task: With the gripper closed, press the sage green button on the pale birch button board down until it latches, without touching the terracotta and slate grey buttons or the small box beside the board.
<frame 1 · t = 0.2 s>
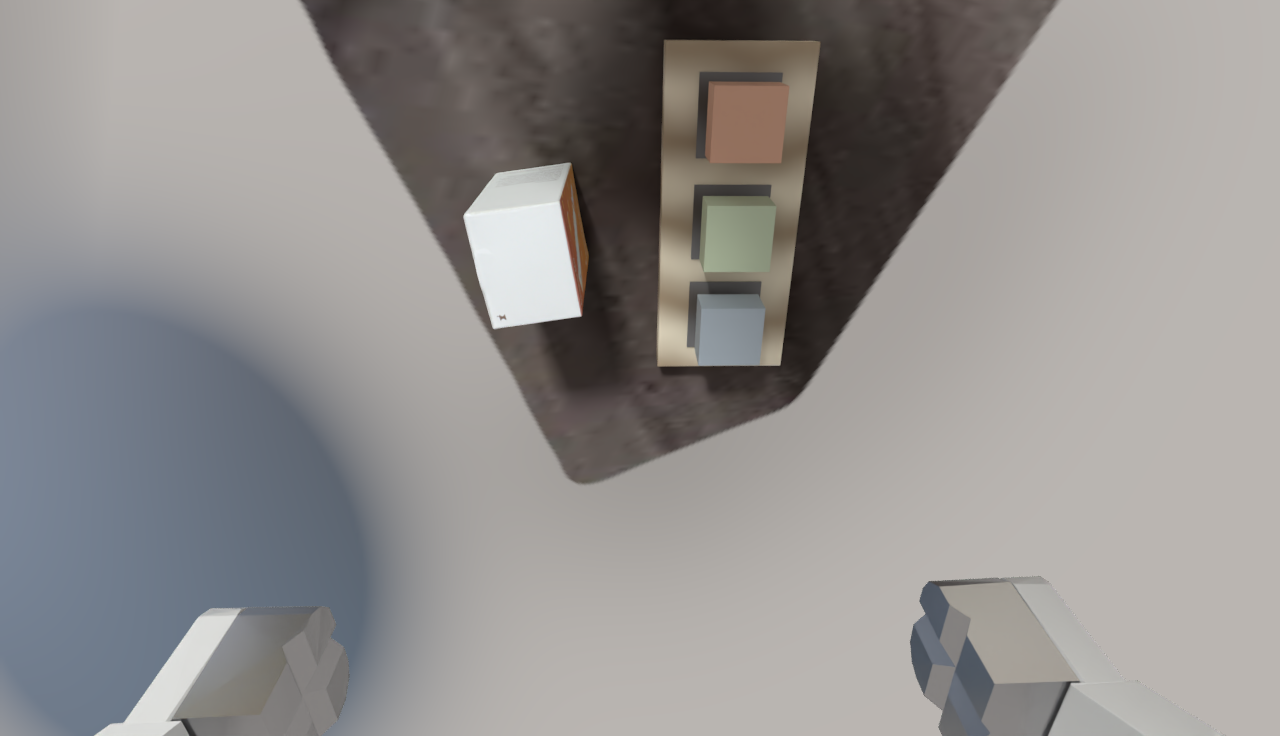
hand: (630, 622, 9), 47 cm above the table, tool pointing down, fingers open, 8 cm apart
small box: (544, 214, 54), on the table
sage button: (736, 233, 50), point 5 cm above the table, slide at 0.0 cm
slate button: (728, 329, 54), point 5 cm above the table, slide at 0.0 cm
terracotta button: (745, 122, 46), point 5 cm above the table, slide at 0.0 cm
button board: (726, 215, 54), on the table
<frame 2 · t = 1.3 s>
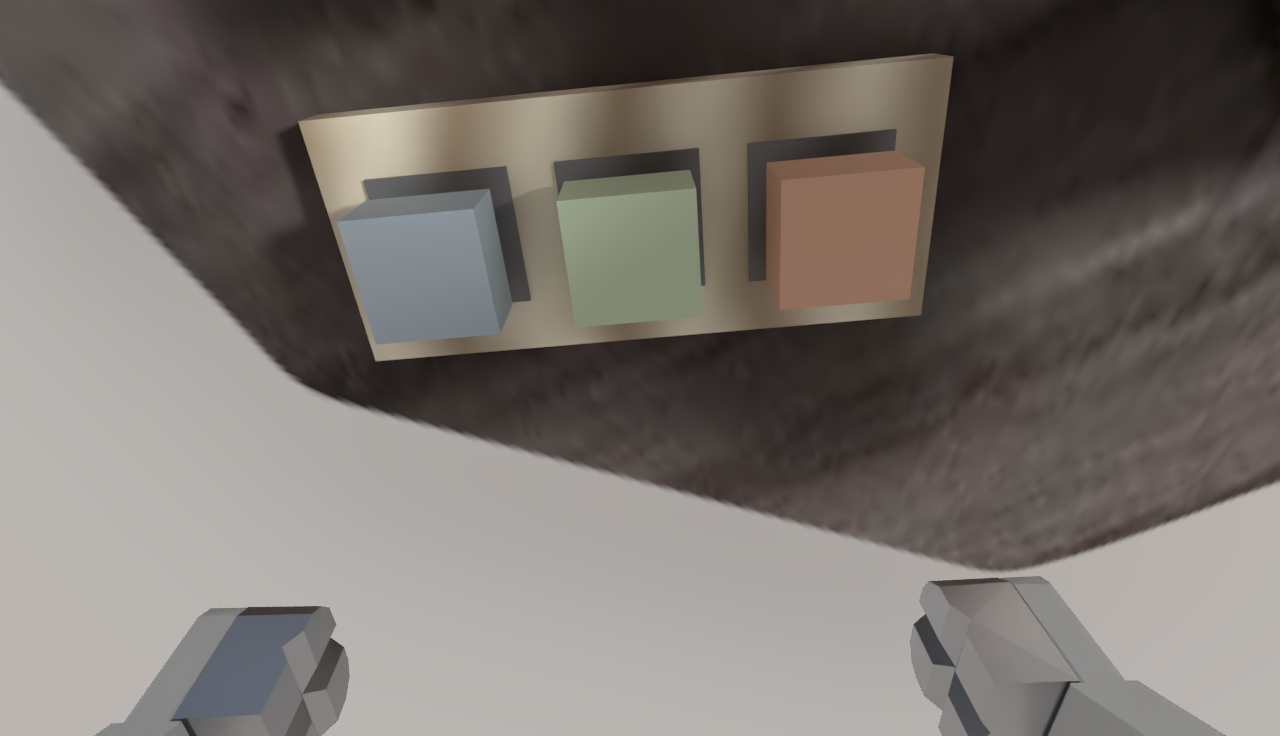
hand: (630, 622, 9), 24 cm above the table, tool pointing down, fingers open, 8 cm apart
sage button: (632, 248, 26), point 5 cm above the table, slide at 0.0 cm
slate button: (432, 266, 26), point 5 cm above the table, slide at 0.0 cm
terracotta button: (837, 230, 26), point 5 cm above the table, slide at 0.0 cm
button board: (633, 212, 30), on the table
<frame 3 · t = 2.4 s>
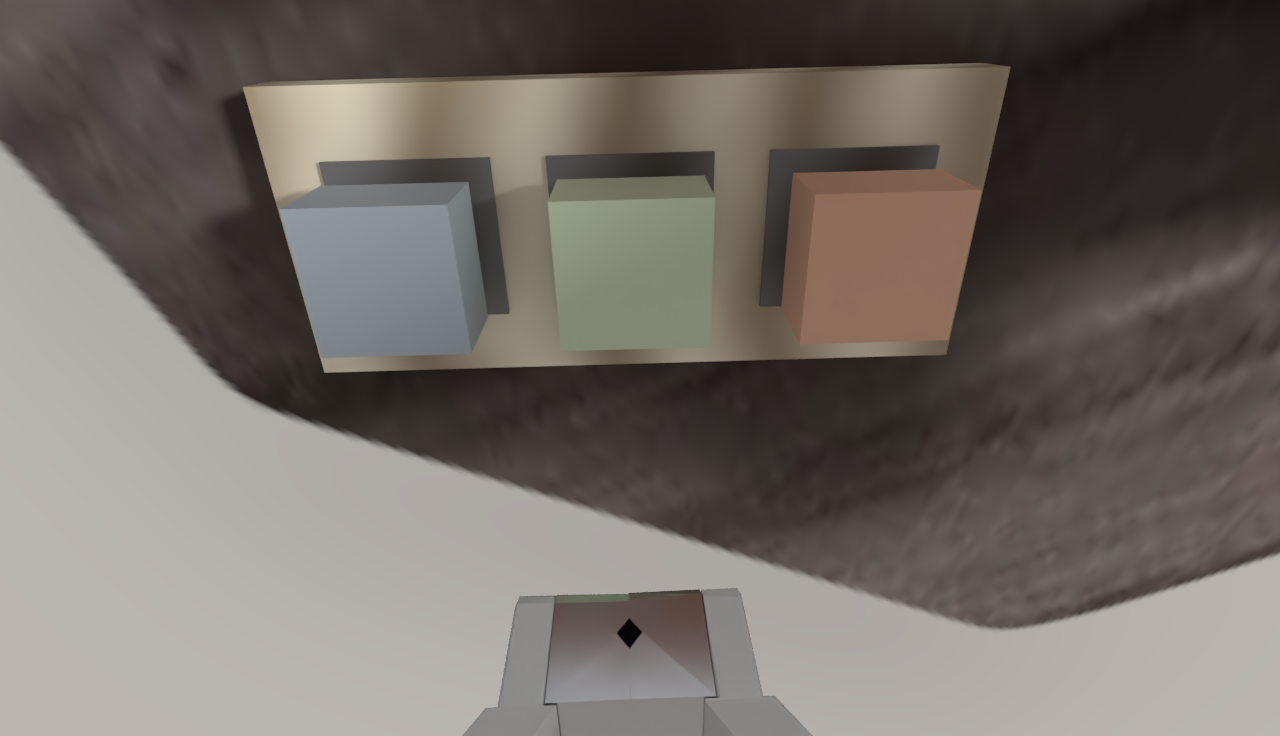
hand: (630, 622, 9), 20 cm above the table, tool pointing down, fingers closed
sage button: (633, 262, 22), point 5 cm above the table, slide at 0.0 cm
slate button: (395, 269, 22), point 5 cm above the table, slide at 0.0 cm
terracotta button: (870, 256, 22), point 5 cm above the table, slide at 0.0 cm
button board: (632, 220, 27), on the table
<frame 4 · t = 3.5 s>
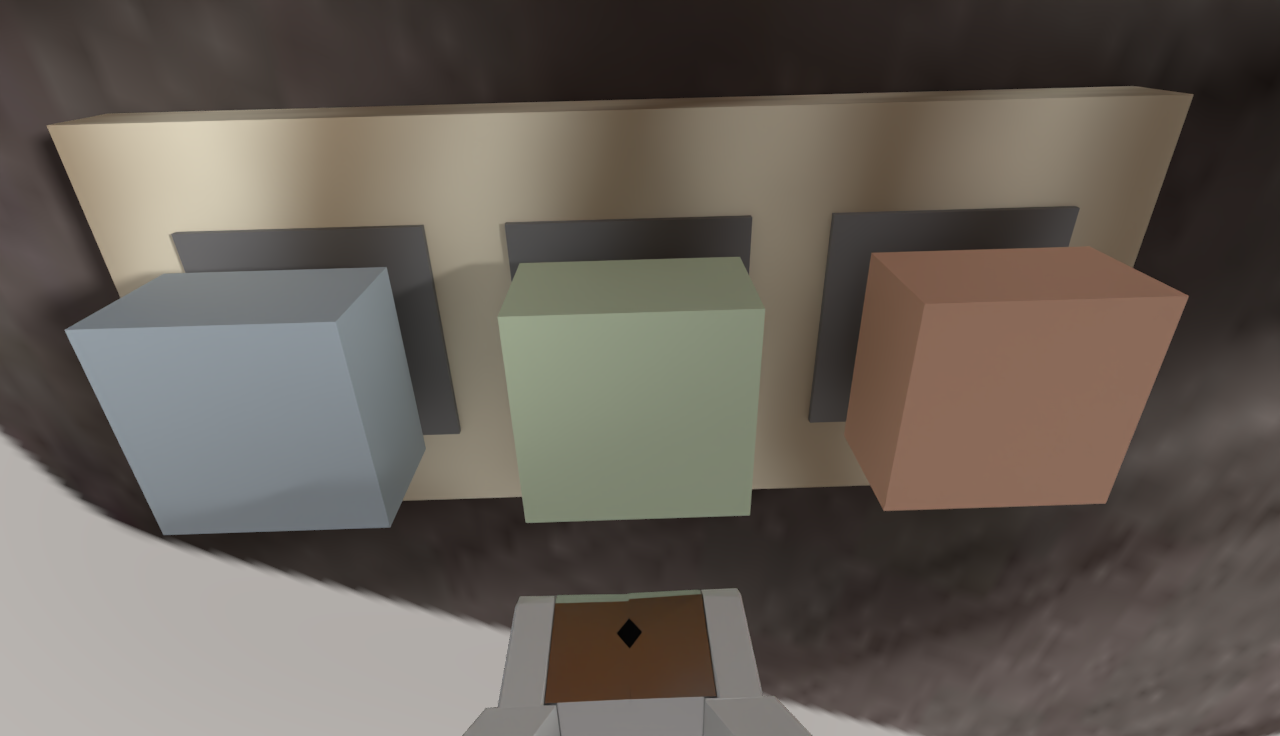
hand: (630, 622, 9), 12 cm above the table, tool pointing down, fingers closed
sage button: (633, 388, 15), point 5 cm above the table, slide at 0.0 cm
slate button: (276, 399, 15), point 5 cm above the table, slide at 0.0 cm
terracotta button: (987, 377, 15), point 5 cm above the table, slide at 0.0 cm
button board: (631, 301, 19), on the table
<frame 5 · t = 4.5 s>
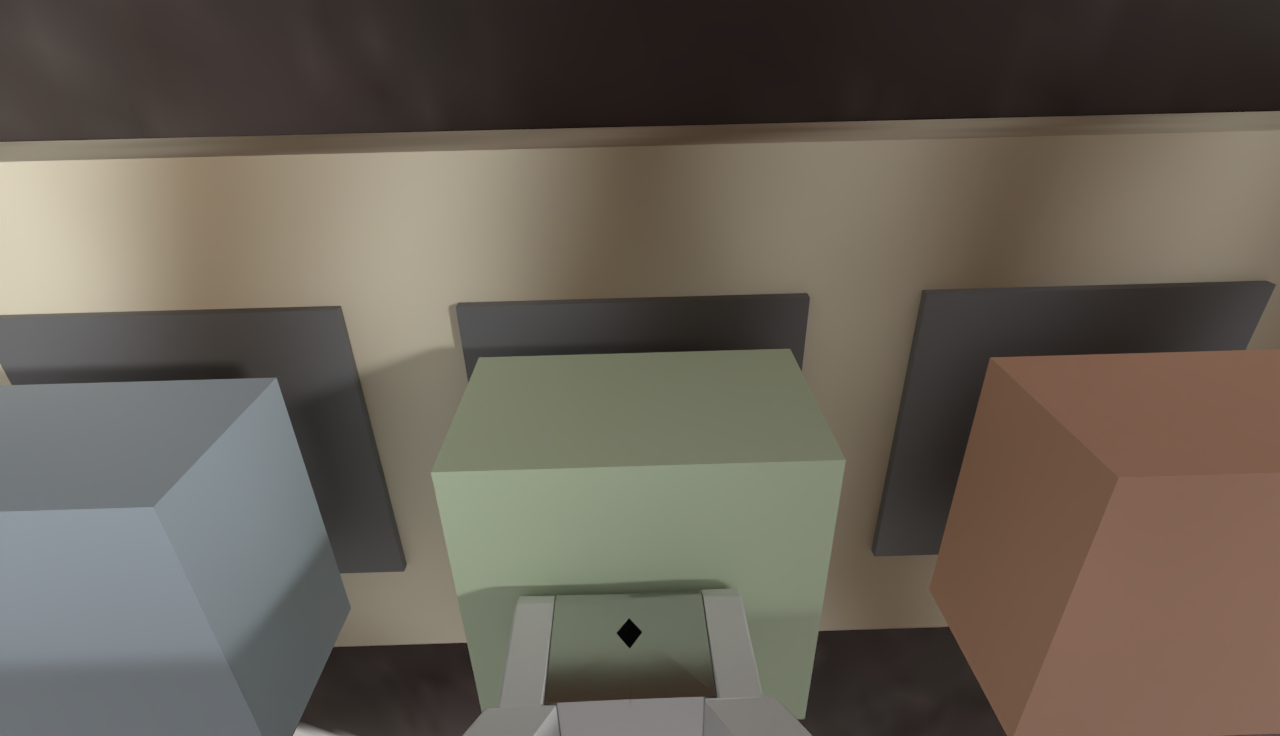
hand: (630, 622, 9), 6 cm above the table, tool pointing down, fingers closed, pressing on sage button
sage button: (640, 536, 10), point 5 cm above the table, slide at 0.5 cm, touching gripper
slate button: (110, 575, 10), point 5 cm above the table, slide at 0.0 cm
terracotta button: (1162, 542, 10), point 5 cm above the table, slide at 0.0 cm
button board: (635, 389, 14), on the table
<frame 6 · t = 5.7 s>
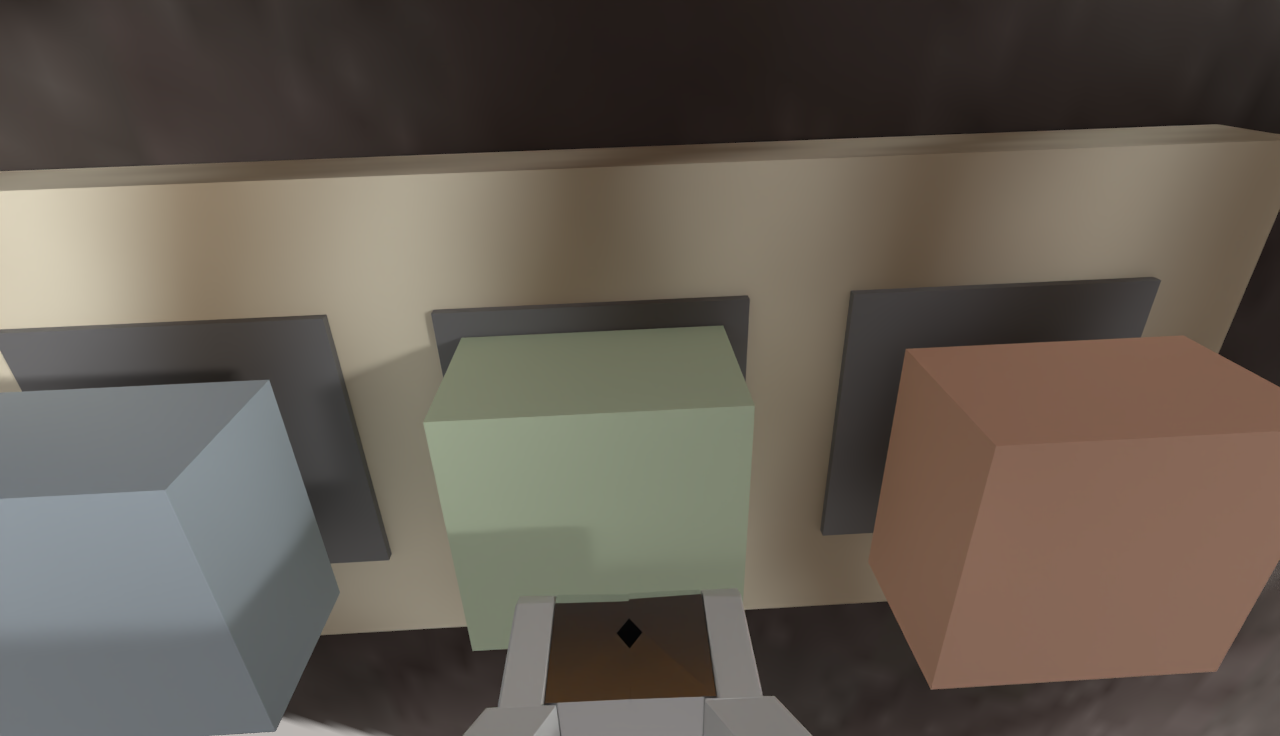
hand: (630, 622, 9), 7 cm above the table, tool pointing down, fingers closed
sage button: (600, 485, 12), point 4 cm above the table, slide at 1.4 cm
slate button: (120, 561, 11), point 5 cm above the table, slide at 0.0 cm
terracotta button: (1059, 508, 11), point 5 cm above the table, slide at 0.0 cm
button board: (601, 387, 16), on the table
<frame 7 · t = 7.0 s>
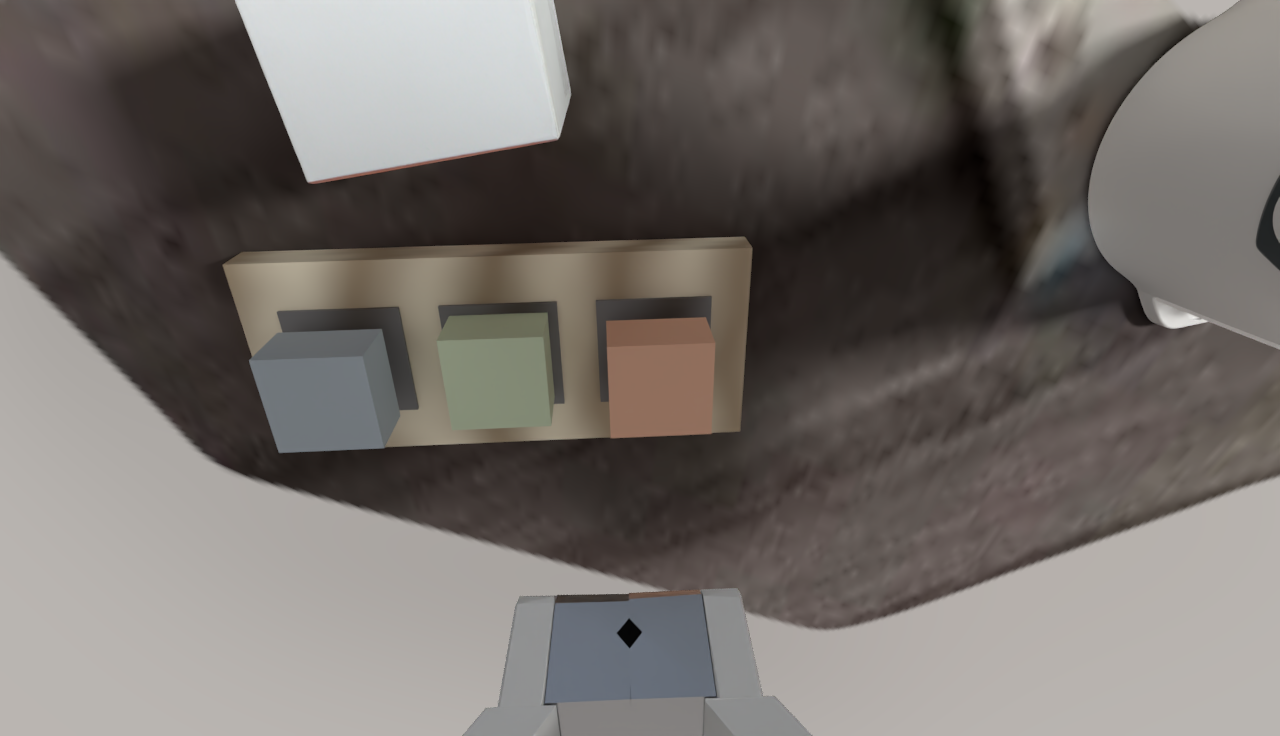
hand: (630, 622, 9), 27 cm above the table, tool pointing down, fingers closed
small box: (474, 40, 30), on the table
sage button: (500, 370, 34), point 4 cm above the table, slide at 1.4 cm
slate button: (330, 390, 32), point 5 cm above the table, slide at 0.0 cm
terracotta button: (658, 377, 33), point 5 cm above the table, slide at 0.0 cm
button board: (508, 339, 37), on the table
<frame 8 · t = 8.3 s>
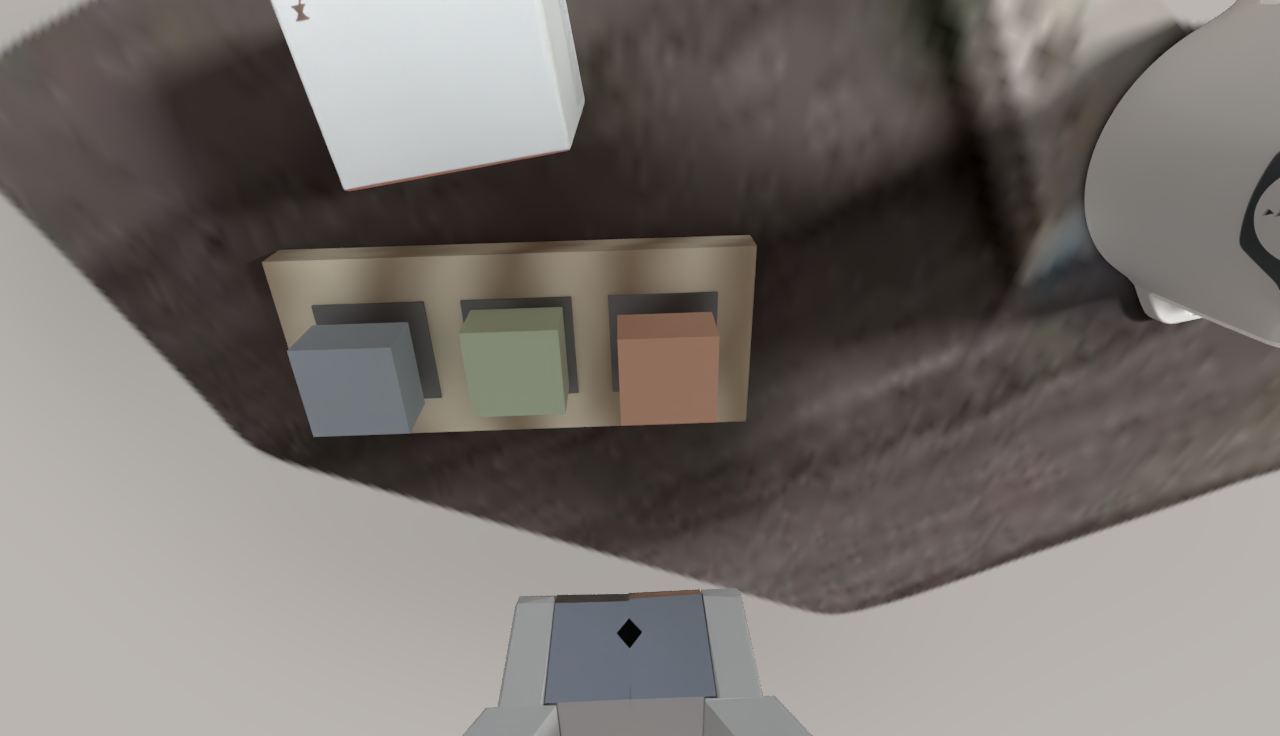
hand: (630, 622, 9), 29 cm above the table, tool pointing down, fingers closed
small box: (494, 51, 32), on the table
sage button: (517, 361, 36), point 4 cm above the table, slide at 1.4 cm
slate button: (360, 379, 34), point 5 cm above the table, slide at 0.0 cm
terracotta button: (666, 368, 35), point 5 cm above the table, slide at 0.0 cm
button board: (526, 332, 39), on the table
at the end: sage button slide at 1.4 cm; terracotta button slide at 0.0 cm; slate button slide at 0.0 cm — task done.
